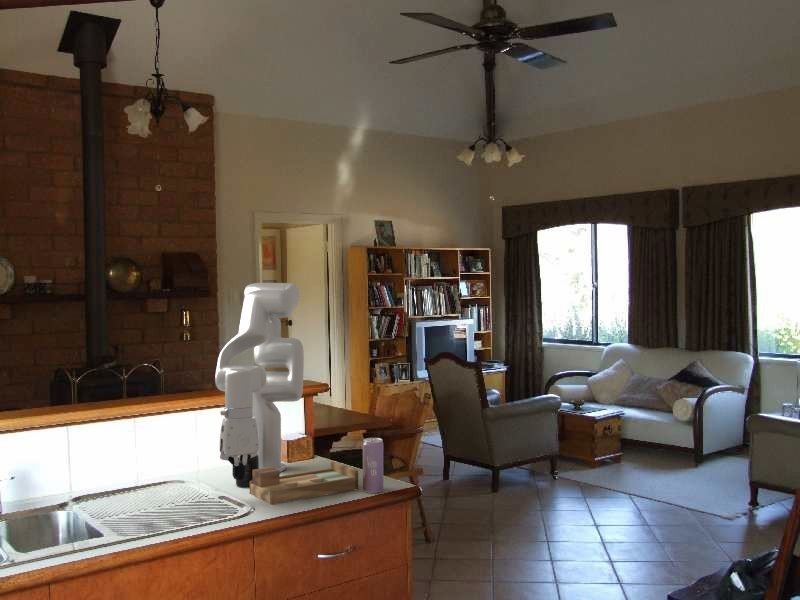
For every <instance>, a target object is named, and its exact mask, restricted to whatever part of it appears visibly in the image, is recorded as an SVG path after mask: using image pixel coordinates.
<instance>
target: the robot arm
mask: <svg viewBox="0 0 800 600" xmlns="http://www.w3.org/2000/svg"><path fill="white" fill-rule="evenodd" d="M243 292H244V293H243V294H244V295H243V296H244V299H243V303H242V304H243V305H242V308H241V315H240V322H239V327H238V332H237V334H235V336H234V337H232V338H231V339H230V340H229V341H228V342H227V343H226V344H225V345H224V346H223V348H222V349H221V351H220V353H219V355H218V358H217V363H216V364H217V365H216V369H215V375H214V376H215V377H214V382H215V386H216V388H217V390H220V391H221V392H224V399H225V400H224V403H225V404H224V409H222V410H221V411H220V416H224V418H223V419H222V423H221V428H220V434H219V452H220V455H219V459H220V460H222V461H228V462H229V463H230V464H231V465H232V477H233V479H234V480H235V481H236V480H240V479H241V480H244V476H245V465H246V464H247V461H248V460H249V459H250V458H252V457H254V456H257V455H258V456H259V469H261V468H268V467H273V468H275V469H277V470H280V473H281V472H283V471H285V470H286V468H287V467H286V463H283V462H282V417H281V412H280V410H279V409H278V407H277V406H276V404H275V402H281V403H282V402H284V403H286V402H290V403H291V402H292V403H293V402H298V401H299V400H301V398H302V396H303V393H304V392H303V391H304V369H305V367H304V365H305V363H304V362H305V360H304V358H305V355H304V354H305V353H304V345H303V343H302V341H301V340H300V339H298V338H295V337H282V321H281V320H280V319H285V318H289V317H290V316H292V314H293V312H294V311H295V310H296V309H297V306H298V304H299V301H300V292H299V288H298V286H297V284H295V283H291V282H255V283H250V284H248V285H246V286H245V288H244V291H243ZM251 349H253V360H254V363H255V364H256V365H231V362H232V361H233V360H234V358H236V357H237V356H239V355H240V354H242V353H245V352H246V351H249V350H251ZM264 368H287V369H288V371H265V370H264ZM238 455H239V461H238Z"/></svg>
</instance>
